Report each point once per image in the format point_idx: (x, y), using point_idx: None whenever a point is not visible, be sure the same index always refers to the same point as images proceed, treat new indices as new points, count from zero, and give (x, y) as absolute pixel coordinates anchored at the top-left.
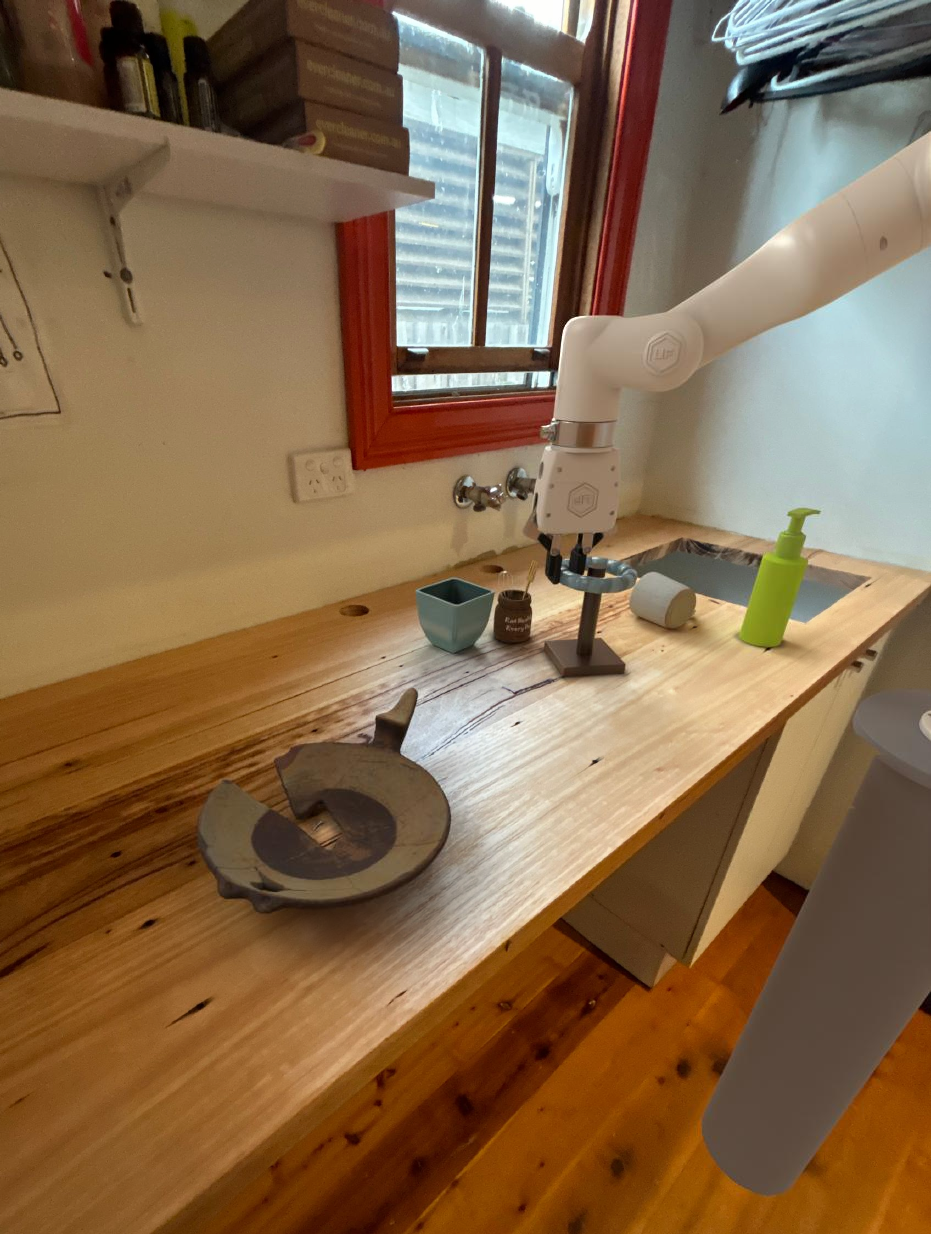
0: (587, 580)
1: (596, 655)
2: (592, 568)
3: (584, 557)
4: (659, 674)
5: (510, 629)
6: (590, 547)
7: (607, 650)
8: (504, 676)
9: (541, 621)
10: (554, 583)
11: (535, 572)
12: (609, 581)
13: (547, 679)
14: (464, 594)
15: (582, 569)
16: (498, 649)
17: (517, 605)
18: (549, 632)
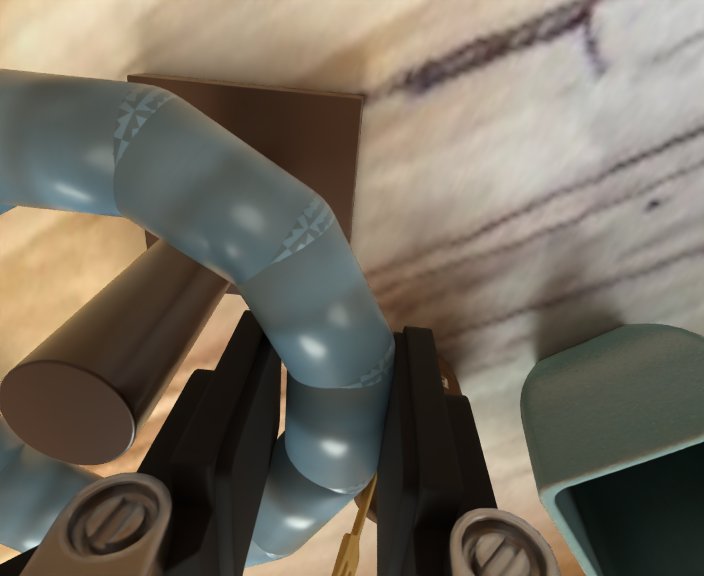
0: (238, 186)
1: None
2: (117, 388)
3: (160, 468)
4: (19, 36)
5: None
6: (61, 540)
7: None
8: (553, 149)
9: None
10: (431, 329)
11: (335, 570)
12: (38, 110)
13: (422, 93)
14: (584, 533)
15: (202, 390)
16: (478, 321)
17: None
18: (282, 383)
